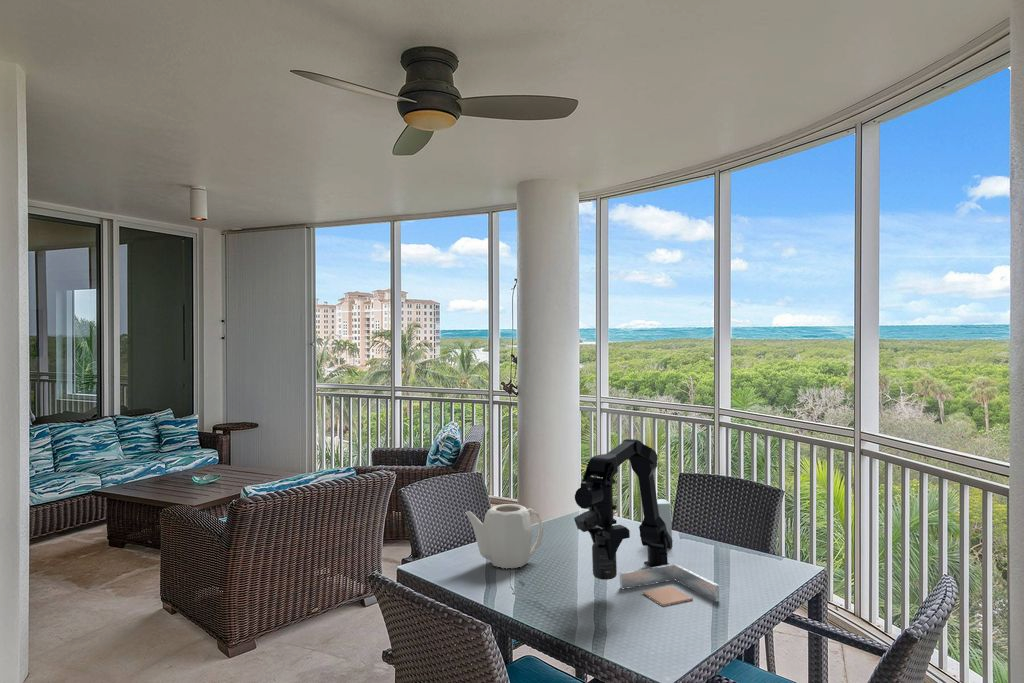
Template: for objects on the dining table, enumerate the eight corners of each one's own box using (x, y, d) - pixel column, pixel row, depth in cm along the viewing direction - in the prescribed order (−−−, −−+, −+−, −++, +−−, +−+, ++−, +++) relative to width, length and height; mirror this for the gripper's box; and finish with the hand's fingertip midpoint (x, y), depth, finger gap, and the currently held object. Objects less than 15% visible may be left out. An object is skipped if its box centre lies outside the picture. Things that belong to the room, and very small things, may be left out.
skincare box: (672, 547, 216) (671, 503, 217) (654, 548, 216) (653, 504, 217) (666, 540, 225) (665, 498, 225) (649, 541, 225) (647, 498, 225)
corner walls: (619, 588, 180) (619, 572, 180) (675, 577, 187) (674, 563, 187) (659, 613, 161) (659, 596, 162) (719, 601, 169) (718, 584, 169)
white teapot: (461, 561, 207) (460, 505, 207) (536, 553, 213) (535, 499, 214) (470, 577, 192) (469, 517, 192) (550, 567, 198) (549, 509, 199)
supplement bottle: (590, 572, 176) (589, 530, 177) (613, 571, 177) (612, 529, 177) (595, 580, 170) (594, 537, 170) (619, 579, 170) (618, 536, 170)
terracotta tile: (642, 593, 175) (642, 591, 175) (670, 588, 179) (670, 586, 179) (662, 606, 166) (662, 604, 166) (692, 600, 170) (692, 598, 170)
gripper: (563, 497, 180) (564, 550, 179) (594, 512, 162) (595, 571, 162) (596, 493, 184) (597, 545, 183) (630, 507, 166) (631, 564, 166)
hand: (604, 556), depth 173 cm, fingers closed on supplement bottle, 7 cm apart
